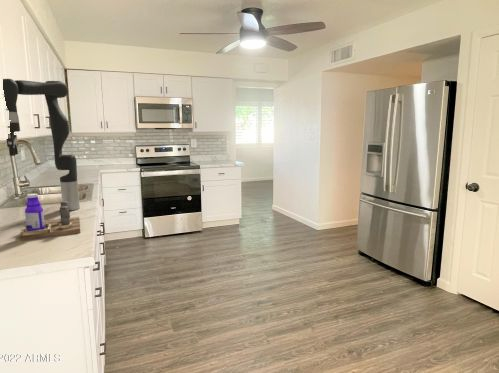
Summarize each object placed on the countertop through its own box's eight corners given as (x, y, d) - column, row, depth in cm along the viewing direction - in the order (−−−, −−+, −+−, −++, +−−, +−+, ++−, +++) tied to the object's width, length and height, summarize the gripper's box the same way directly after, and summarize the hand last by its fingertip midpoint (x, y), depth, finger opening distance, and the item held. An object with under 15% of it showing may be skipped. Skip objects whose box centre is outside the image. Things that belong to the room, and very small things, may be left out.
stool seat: (26, 226, 171) (24, 203, 169) (79, 220, 182) (77, 198, 180) (20, 240, 150) (17, 214, 148) (80, 232, 161) (78, 208, 159)
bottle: (47, 228, 161) (43, 192, 158) (40, 232, 155) (36, 195, 152) (32, 229, 161) (27, 193, 158) (24, 232, 155) (20, 195, 152)
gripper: (16, 121, 159) (21, 155, 162) (20, 121, 172) (24, 153, 175) (-3, 121, 156) (2, 156, 159) (3, 121, 168) (7, 154, 171)
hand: (14, 155), depth 167 cm, fingers open, 8 cm apart
